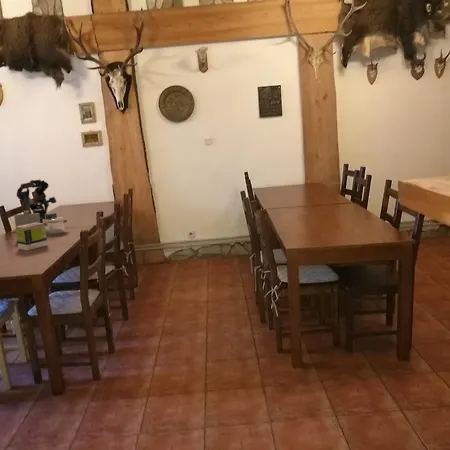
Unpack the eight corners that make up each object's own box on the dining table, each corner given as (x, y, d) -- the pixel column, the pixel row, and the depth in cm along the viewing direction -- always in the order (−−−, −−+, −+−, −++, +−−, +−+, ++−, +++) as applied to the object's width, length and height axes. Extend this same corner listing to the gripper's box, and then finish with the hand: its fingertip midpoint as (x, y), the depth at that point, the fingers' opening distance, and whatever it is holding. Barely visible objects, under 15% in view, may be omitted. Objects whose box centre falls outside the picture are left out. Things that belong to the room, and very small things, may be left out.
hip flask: (42, 237, 361) (38, 209, 358) (41, 239, 358) (38, 210, 354) (17, 240, 358) (14, 211, 354) (16, 241, 354) (13, 212, 350)
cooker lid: (41, 220, 377) (40, 215, 376) (59, 217, 385) (59, 212, 384) (47, 222, 366) (47, 217, 365) (66, 220, 374) (66, 214, 373)
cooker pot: (39, 233, 377) (38, 221, 375) (63, 229, 387) (62, 217, 386) (46, 236, 367) (44, 223, 365) (70, 232, 377) (69, 219, 376)
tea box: (39, 244, 343) (36, 221, 340) (48, 245, 336) (45, 223, 333) (18, 248, 331) (15, 225, 328) (26, 250, 325) (23, 227, 322)
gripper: (24, 194, 381) (30, 214, 377) (50, 187, 384) (55, 206, 380) (29, 200, 392) (34, 218, 388) (53, 192, 395) (59, 210, 391)
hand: (45, 213), depth 387 cm, fingers closed
